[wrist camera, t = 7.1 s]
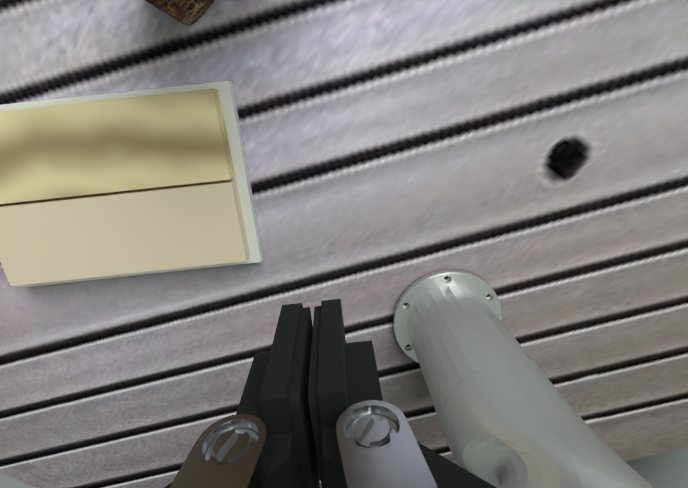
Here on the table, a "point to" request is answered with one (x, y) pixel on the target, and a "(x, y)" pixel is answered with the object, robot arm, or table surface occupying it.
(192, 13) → the book
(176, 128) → the honey plank
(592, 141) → the table surface
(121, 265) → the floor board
